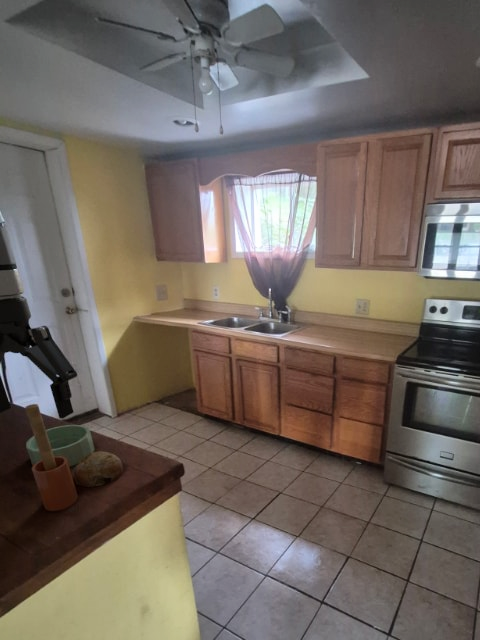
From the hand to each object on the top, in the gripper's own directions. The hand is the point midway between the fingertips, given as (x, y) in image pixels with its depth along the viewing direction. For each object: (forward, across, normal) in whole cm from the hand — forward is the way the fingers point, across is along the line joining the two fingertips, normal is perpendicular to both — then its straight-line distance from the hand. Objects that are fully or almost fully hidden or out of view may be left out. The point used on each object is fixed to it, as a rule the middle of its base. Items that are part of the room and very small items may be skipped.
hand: (34, 413), depth 70 cm
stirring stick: (+21, 0, 0) cm, 21 cm away
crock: (+21, 0, 0) cm, 21 cm away
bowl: (+21, +13, -17) cm, 30 cm away
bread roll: (+22, -1, -10) cm, 24 cm away
